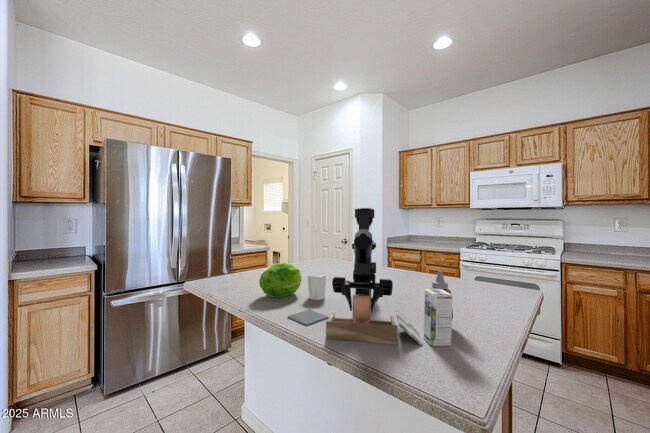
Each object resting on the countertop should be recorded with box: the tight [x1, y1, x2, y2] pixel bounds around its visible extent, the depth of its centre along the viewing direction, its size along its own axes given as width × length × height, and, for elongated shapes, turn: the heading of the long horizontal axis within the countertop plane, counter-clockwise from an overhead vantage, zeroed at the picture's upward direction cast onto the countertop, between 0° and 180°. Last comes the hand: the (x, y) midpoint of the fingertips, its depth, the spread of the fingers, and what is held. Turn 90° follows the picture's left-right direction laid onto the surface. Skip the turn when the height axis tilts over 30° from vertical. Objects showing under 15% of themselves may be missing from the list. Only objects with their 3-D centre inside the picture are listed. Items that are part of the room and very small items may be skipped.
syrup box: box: [423, 288, 453, 347], centre depth 81 cm, size 6×6×14 cm
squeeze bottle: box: [429, 270, 454, 320], centre depth 92 cm, size 8×8×18 cm
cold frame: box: [325, 309, 424, 346], centre depth 87 cm, size 14×27×6 cm, turn 81°
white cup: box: [307, 272, 327, 301], centre depth 121 cm, size 8×8×10 cm
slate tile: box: [287, 309, 330, 327], centre depth 98 cm, size 10×10×1 cm
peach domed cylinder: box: [352, 294, 372, 323], centre depth 86 cm, size 5×5×11 cm
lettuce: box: [259, 262, 302, 299], centre depth 124 cm, size 15×23×16 cm
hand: (361, 311), depth 85 cm, fingers open, 6 cm apart
